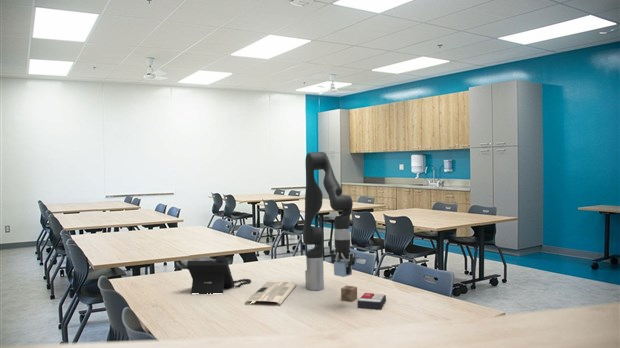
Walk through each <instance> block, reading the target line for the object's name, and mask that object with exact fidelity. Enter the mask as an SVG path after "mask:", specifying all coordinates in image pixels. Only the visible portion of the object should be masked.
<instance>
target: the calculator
mask: <svg viewBox="0 0 620 348" xmlns="http://www.w3.org/2000/svg"><path fill="white" fill-rule="evenodd" d="M386 301H387V295H386V294H385V293H371V292H364V293H363V294H362V295H361V296H360V298H358V299H357V309H364V310H376V311H377V310H378V311H381V310H382V309H383V307H384V305H385V304H386Z"/></svg>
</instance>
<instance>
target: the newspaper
mask: <svg viewBox="0 0 620 348" xmlns="http://www.w3.org/2000/svg"><path fill="white" fill-rule="evenodd" d="M297 286H298V285H297V283H296V282H294V281H286V280H285V281H284V280H282V281H280V280H279V281H277V280H276V281H275V280H274V281H267V282H266V283H265V284H264V283H263V285H262V286H261V287H260V288H259V289H258V290H257V291H256V292H255V293H253V294H252V295H251V296H250V297H249V298H248V299H247V300H246V301H245V302H244V304H245V305H246V304H247V305H248V304H250V303H251V302H252V301H258V302H271V303H272V302H274V303H276V304H277V305H276V306H277V307H278V306H282V304H283V302H284V301H285V300H286V299H287V297H289V295H290V294H291V293H292V291H294V289H296V287H297Z"/></svg>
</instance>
